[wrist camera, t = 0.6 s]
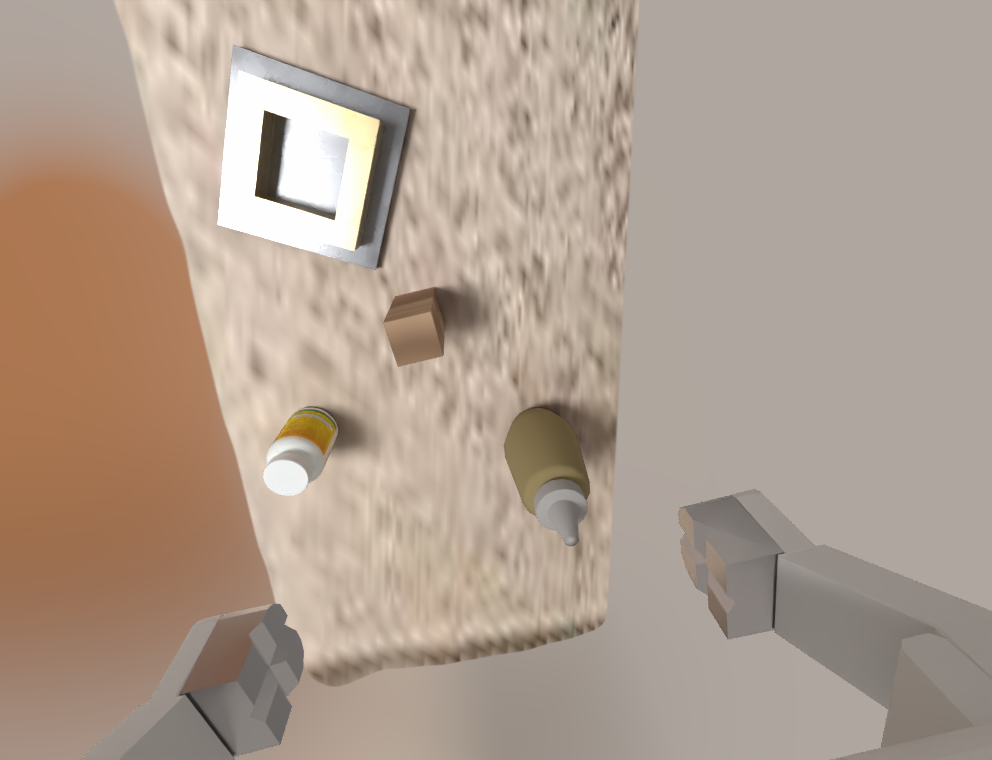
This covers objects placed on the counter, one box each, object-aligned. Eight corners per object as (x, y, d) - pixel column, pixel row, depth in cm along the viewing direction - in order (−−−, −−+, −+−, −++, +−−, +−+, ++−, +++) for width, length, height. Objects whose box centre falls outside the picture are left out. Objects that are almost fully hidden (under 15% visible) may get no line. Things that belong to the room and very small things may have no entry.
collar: (238, 47, 38) (215, 34, 34) (410, 109, 40) (406, 103, 37) (222, 223, 43) (201, 228, 39) (377, 267, 45) (370, 276, 42)
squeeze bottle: (576, 446, 56) (629, 561, 39) (512, 467, 56) (537, 589, 40) (560, 388, 52) (609, 487, 36) (491, 410, 53) (509, 518, 36)
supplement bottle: (339, 448, 53) (318, 503, 44) (290, 447, 52) (258, 502, 44) (337, 406, 51) (314, 454, 42) (286, 404, 50) (251, 453, 42)
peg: (395, 296, 47) (383, 323, 39) (434, 287, 47) (430, 311, 38) (407, 335, 48) (398, 368, 40) (445, 326, 48) (443, 357, 40)
